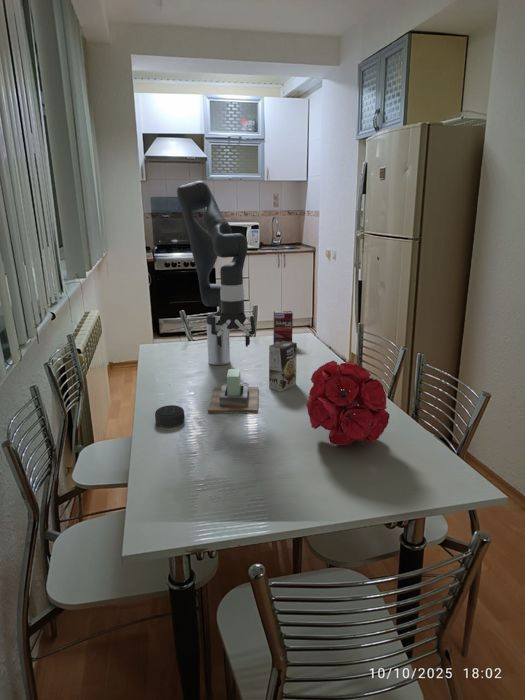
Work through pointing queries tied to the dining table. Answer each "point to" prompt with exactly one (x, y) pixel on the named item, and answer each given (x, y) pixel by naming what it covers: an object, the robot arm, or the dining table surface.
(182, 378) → the dining table surface
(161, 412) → the smart speaker
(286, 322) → the supplement box
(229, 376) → the keyed block
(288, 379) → the coffee box
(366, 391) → the bouquet
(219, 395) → the keyed holder
